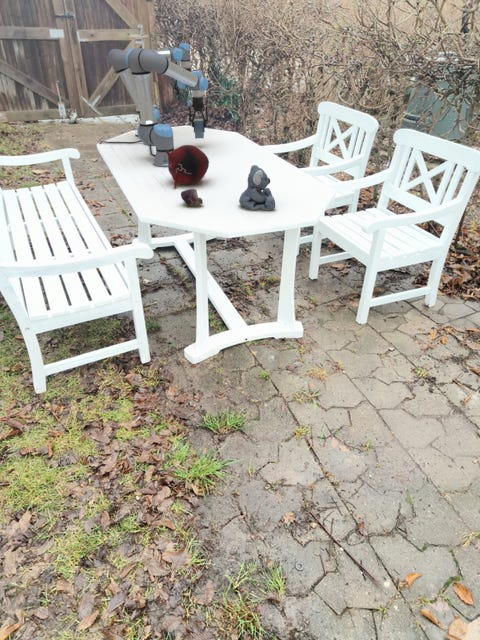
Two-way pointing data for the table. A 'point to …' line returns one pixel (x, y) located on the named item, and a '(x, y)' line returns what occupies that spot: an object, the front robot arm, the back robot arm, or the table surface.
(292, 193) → the table surface
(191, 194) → the rock
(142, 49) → the front robot arm
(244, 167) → the table surface
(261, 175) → the koala plush
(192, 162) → the dark red rounded piece
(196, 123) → the block
